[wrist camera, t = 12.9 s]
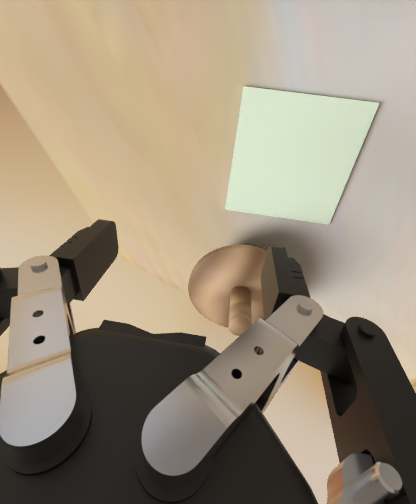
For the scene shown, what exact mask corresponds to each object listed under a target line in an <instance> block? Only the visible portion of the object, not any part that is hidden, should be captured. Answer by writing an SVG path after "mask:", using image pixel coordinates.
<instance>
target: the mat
mask: <svg viewBox="0 0 416 504" xmlns="http://www.w3.org/2000/svg"><path fill="white" fill-rule="evenodd" d="M378 106H379V103H377V102H369V101H361V100H352V99H344V98H336V97H328V96H320V95H312V94H303V93H295V92H287V91H279V90H271V89H262V88H254V87H246V86H244V87H243V94H242V100H241V107H240V113H239V120H238V127H237V133H236V140H235V146H234V153H233V160H232V166H231V173H230V180H229V186H228V193H227V199H226V206H225V210H232V211H239V212H246V213H253V214H260V215H267V216H274V217H281V218H288V219H295V220H302V221H308V222H315V223H322V224H330V221H331V219H332V216H333V214H334V212H335V209H336V207H337V204H338V202H339V200H340V197H341V195H342V192H343V190H344V187H345V185H346V183H347V180H348V178H349V175H350V173H351V171H352V168H353V166H354V163H355V161H356V159H357V156H358V154H359V151H360V149H361V147H362V144H363V142H364V139H365V137H366V135H367V132H368V130H369V127H370V125H371V123H372V120H373V118H374V115H375V113H376V110H377V108H378Z"/></svg>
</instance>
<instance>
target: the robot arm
mask: <svg viewBox="0 0 416 504" xmlns="http://www.w3.org/2000/svg"><path fill="white" fill-rule="evenodd" d="M117 254H118V240H117V231H116V225H115V222H113V221H107V220H100V219H99V220H97V221H96V222H95V223H94V224H93V225H91V227H87V228H85V229H82V230H80V231H78V232H77V233H75V235H73V236H72V238H70V239H68V240H67V242H65V243H64V244H63V245H61V246H60V247H59V248H58V249H57V250H56V251H54V252H53V253H52V254H51V255H50V256H38V257H34V258H31V259H28V260H26V261H25V262H23V263H22V264H21V265H20V266H19V268H0V336H1V334H2V333H3V332H4V331H5V330H6V329H7V328H8V327H9V326H10V331H9V348H8V365H7V370H6V371H5V372H3V373H1V374H0V504H318V503H317V500H316V498H315V496H314V494H313V492H312V490H311V488H310V486H309V485H308V483H307V481H306V480H305V478H304V477H303V475H302V473H301V472H300V470H299V469H298V467H297V466H296V464H295V463H294V461H293V460H292V458H291V456H290V455H289V453H288V452H287V450H286V449H285V447H284V446H283V444H282V443H281V441H280V439H279V438H278V436H277V435H276V433H275V432H274V430H273V429H272V427H271V426H270V424H269V423H268V421H267V419H266V418H265V416H264V415H263V412H264V411H265V409H266V408H267V407H268V405H269V403H270V402H271V401H272V399H273V397H274V395H275V394H276V392H277V391H278V390H279V388H280V387H281V385H282V384H283V383H284V381H285V380H286V379H287V377H288V376H289V375H290V373H291V372H292V371H293V369H294V368H295V367H296V365H297V364H298V363H299V361H301V362H303V363H305V364H307V365H310V366H312V367H314V368H316V369H318V370H320V371H321V376H322V381H323V386H324V390H325V395H326V400H327V405H328V409H329V414H330V419H331V423H332V428H333V433H334V438H335V442H336V447H337V452H338V457H339V461H340V464H339V465H338V466H337V467H336V468H335V469H334V470H333V471H332V472H331V473H330V475H329V478H328V482H327V490H328V499H327V504H416V393H415V391H414V389H413V387H412V385H411V383H410V381H409V380H408V378H407V376H406V374H405V372H404V370H403V368H402V366H401V364H400V362H399V360H398V358H397V356H396V354H395V352H394V350H393V348H392V346H391V344H390V342H389V340H388V338H387V336H386V335H385V333H384V332H383V330H382V329H381V328H380V327H378V326H377V325H376V324H374V323H373V322H371V321H369V320H367V319H364V318H361V317H351V318H349V319H348V320H347V321H346V323H343V322H340V321H338V320H335V319H333V318H330V317H328V316H326V315H324V314H323V310H322V308H321V306H320V305H319V304H318V303H317V302H316V301H314V300H313V299H311V298H310V295H309V292H308V289H307V285H306V282H305V280H304V276H303V274H302V270H301V267H300V265H299V264H298V263H297V261H296V260H295V259H294V258H288V257H287V253H286V249H285V247H279V246H272V245H270V246H269V247H268V250H267V254H266V258H265V261H264V265H263V268H262V273H261V289H262V300H263V311H264V319H263V318H260V319H258V320H257V321H256V322H255V323H254V324H253V325H251V326H250V327H249V328H248V329H247V330H246V331H245V332H244V333H243V334H242V335H240V336H239V337H238V338H237V339H236V340H235V341H234V342H233V343H232V344H231V345H229V346H228V347H227V348H226V349H225V350H224V351H223V352H222V353H221V354H220V353H218V352H217V351H216V350H214V349H213V348H210V347H209V346H206V345H205V341H206V337H204V336H198V335H192V334H185V333H166V334H151V333H149V332H146V331H144V330H142V329H139V328H137V327H135V326H132V325H130V324H126V323H120V322H113V321H108V320H104V321H103V322H102V324H101V326H100V327H99V328H93V329H88V330H84V331H80V332H78V333H76V331H75V325H74V320H73V315H72V309H71V305H70V302H71V301H72V300H73V299H75V300H82V301H84V299H85V298H86V297H87V296H88V294H89V293H90V292H91V290H92V289H93V288H94V286H95V285H96V284H97V282H98V281H99V280H100V278H101V277H102V276H103V274H104V273H105V272H106V270H107V269H108V268H109V267H110V265H111V264H112V263H113V261H114V260H115V258H116V257H117Z"/></svg>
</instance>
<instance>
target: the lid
mask: <svg viewBox="0 0 416 504" xmlns="http://www.w3.org/2000/svg"><path fill="white" fill-rule="evenodd" d="M266 254H267V250H266V249H263V248H260V247H256V246H250V245H232V246H226V247H222V248H219V249H216V250H214V251H212V252H210V253H208V254H207V255H205V256H204V257H203V258H202V259H201V260H200V261H198V263H197V264H196V265H195V267H194V269H193V270H192V273H191V276H190V279H189V285H188V291H189V296H190V299H191V301H192V303H193V305H194V306H195V308H196V309H197V310H198V311H199V313H200V314H202V315H203V316H204V317H205V318H207V319H208V320H210V321H212V322H214V323H216V324H218V325H221V326H224V327H228V328H229V331H230V332H231V333H232V334H234V335H237V336H240V335H242V334H243V333H244V332H245V331H246V330H247V329H248V328H249V327H250V326H251V325H253V324H254V323H255V322H256V321H257V320H258V319H260V318H263V319H264V311H263V300H262V289H261V273H262V268H263V265H264V261H265V258H266Z"/></svg>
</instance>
